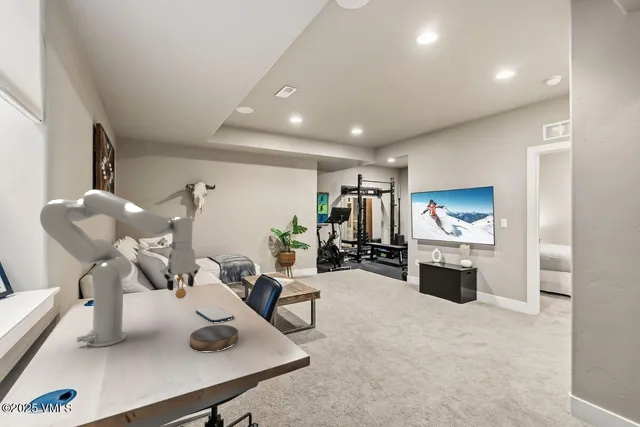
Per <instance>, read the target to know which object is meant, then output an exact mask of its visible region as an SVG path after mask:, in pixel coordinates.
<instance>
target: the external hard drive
mask: <svg viewBox="0 0 640 427" xmlns="http://www.w3.org/2000/svg"><path fill="white" fill-rule="evenodd" d="M196 313H197V315H198V316H199V315H200V316H199V317H201V318H202V317H203V318H202V319H204V320H205V319H206V320H205V321H207V320H208V321H207V322H209V321H210V322H213V323H212V324H215V323H214V322H221V321H225V320H228V319H231V318H233V319H234V314H232V313H231V312H229V311H227V310H225V309H223V308H221V307H220V306H218V305H208V306H203V307H197V308H196V309H195V314H196ZM210 322H209V323H210ZM225 322H226V321H225ZM221 323H222V322H221Z"/></svg>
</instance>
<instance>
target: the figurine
mask: <svg viewBox="0 0 640 427" xmlns="http://www.w3.org/2000/svg"><path fill="white" fill-rule="evenodd" d="M183 275H184V274H179V275H177V278H176V283H177V290H176V291H175V298H177V299H179V300H180V299H184V298H185V297H186V295H187V291H186V290H185V288H184V284H185V279H184V277H183ZM186 275H187V277H188V276H189V274H188V273H186ZM189 277H190V276H189ZM190 279H191V278H190ZM180 281H181V288H180Z"/></svg>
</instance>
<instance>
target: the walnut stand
mask: <svg viewBox="0 0 640 427" xmlns="http://www.w3.org/2000/svg"><path fill="white" fill-rule="evenodd" d="M237 340H238V341H239V329H238V328H237V327H234V326H233V325H232V326H231V325H228V324H213V325H207V326H203V327H200V328H198V329H196V330H194V331H193V332H191V334H190V335H189V348H190V347H191V348H192V349H194V350H197V351H217V350H222V349H224V348H227V347H229V346H231V345H233V344H235V343H236V342H237ZM237 343H238V342H237ZM235 345H236V344H235ZM191 348H190V349H191ZM192 349H191V350H192ZM194 350H193V351H194ZM197 351H196V352H197ZM222 351H223V350H222Z"/></svg>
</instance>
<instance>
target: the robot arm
mask: <svg viewBox="0 0 640 427" xmlns="http://www.w3.org/2000/svg"><path fill="white" fill-rule="evenodd" d="M100 215H103V216H107V217H110V218H112V219H115V220H118V221H121V222H123V223H124V224H126V225H129V226H131V227H133V228H136V229H138V230H141V231H143V232H147V233H151V234H153V235H165V234H171V233H172V235H171V236H172V239H171V240H172V241H171V243H170V244H168V247H169V248H171V249H170V250H169V254H168V260H167V265H166V266H164V268H162V269H161V270H160V274H161V275H162V276H163V278H164V279H165V280H166V289H167V290H168V291H174V284H175V283H174V277H175V276H178V275H179V274H183V275H185V274H186V273H188V274H189V276H190V277H189V276H188V275H187V274H186V275H187V286H188V287H191V288H193V287H194V283H195V277H196V275H197V274H198V273H199V270H200V268H201V266H200V265H199V264H197V263H196V255H195V254H196V253H195V249H194V248H193V226H194V224H193V221H194V219H193V218H192V217H190V216H171V215H159V214H156V213H153V212H151V211H148V210H146V209H143V208H141V207H139V206H138V205H136V204H135V202H133V201H130V200H127V199H125V198H122V197H120V196H116V195H115V194H113V192H110V191H107V190H106V191H105V190H101V189H90V190H88V191H87V192H85V193H84V194H83V196H82V198H80V199H78V200H73V199H65V198H64V199H63V198H62V199H60V198H59V199H54V200H51V201H48V202H47V203H46V204H44V205H43V206H42V208H41V211H40V213H39V219H40V224H41V227H42V228H43V230H44V231H45V232H46V233H47V235H49V236H50V237H51V239H53V240H54V241H55V242H57V244H59V245H60V246H61V247H62V248H63V249H64V250H66V252H67V253H68V254H69V255H71V256H72V257H73V258H74V259H75V260H76V261H77V262H79V263H80V264H81V265H86V266H87V265H94V264H96V266H95V267H94V268H93V270H92V274H91V282H92V286H93V288H92V289H93V308H92V309H93V310H92V311H93V313H92V314H93V317H92V330H89V333H87V334H86V335H80V336H78V337H76V342H77V343H80V342H83V343H87V346H88V347H93V348H96V347H97V348H99V347H101V348H102V347H107V346H112V345H116V344H118V343H121V342H123V341H124V340H126V339H127V335H128V334H127V333H126V332H124V331H123V318H124V317H123V313H124V311H123V310H124V288H123V281H122V280H125V279H126V278H128V277H129V276H130V275H131V273H132V270H133V264H132V263H131V261H130V260H129V259H128V258H127V257H126V255H124V254H123V253H122V252H121V251H120V250H119V249H118V248H117V247H116V246H114V244H113V243H111V242H110V241H108V240H105V239H99V238H96V239H93V238H92V237H91V236H89V234H87V233H86V232H85V231H84V230H83V229H82V228H80V227H79V226H78V225H76V224H74V222H80V221H83V220H87V219H90V218H93V217H96V216H100ZM167 273H168V274H167ZM190 278H191V279H190Z"/></svg>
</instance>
